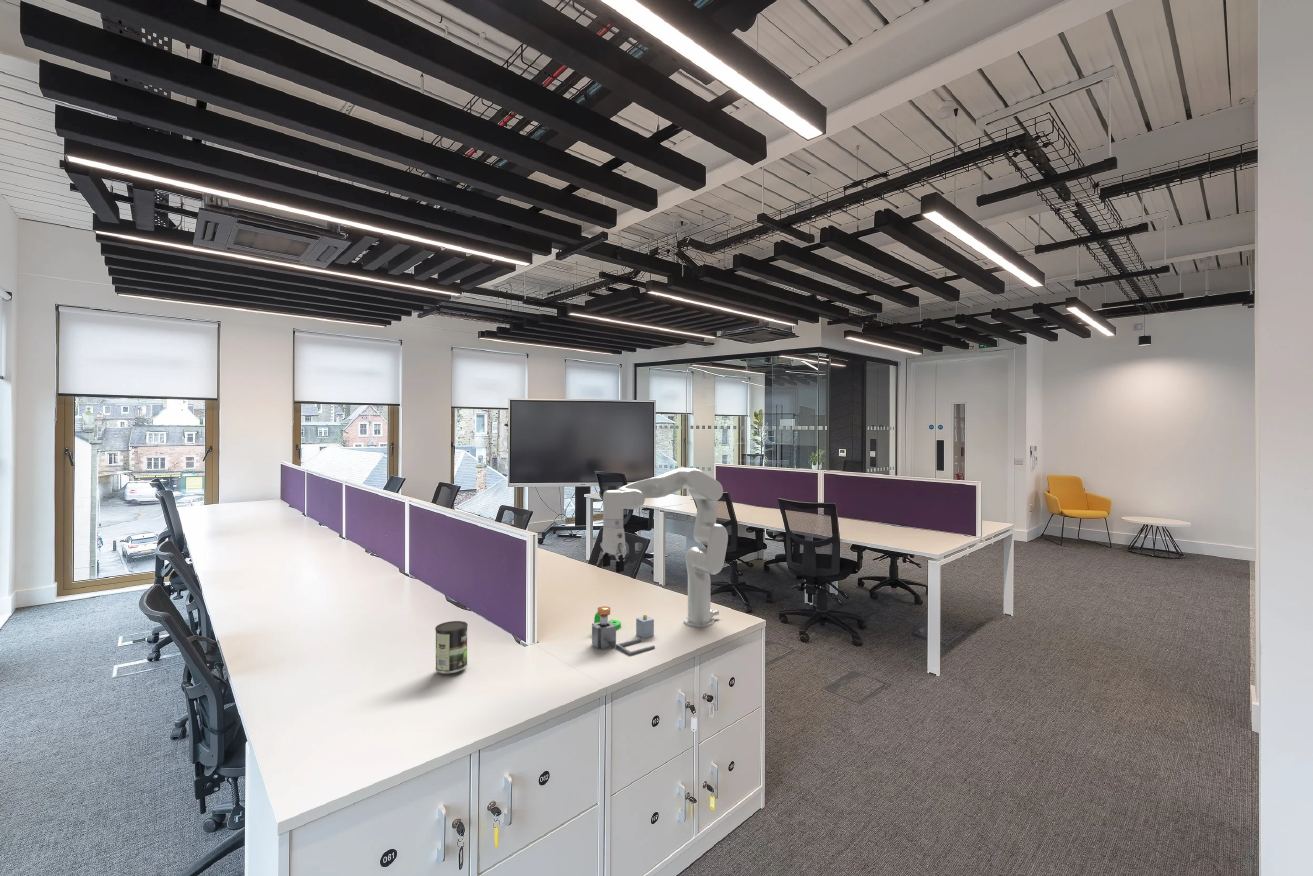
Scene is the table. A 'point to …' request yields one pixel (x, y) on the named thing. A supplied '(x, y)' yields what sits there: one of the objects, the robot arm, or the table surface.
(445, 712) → the table surface
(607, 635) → the copper disc holder
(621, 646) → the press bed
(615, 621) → the mechanical part
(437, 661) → the coffee can
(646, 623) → the light blue block
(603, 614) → the plunger
